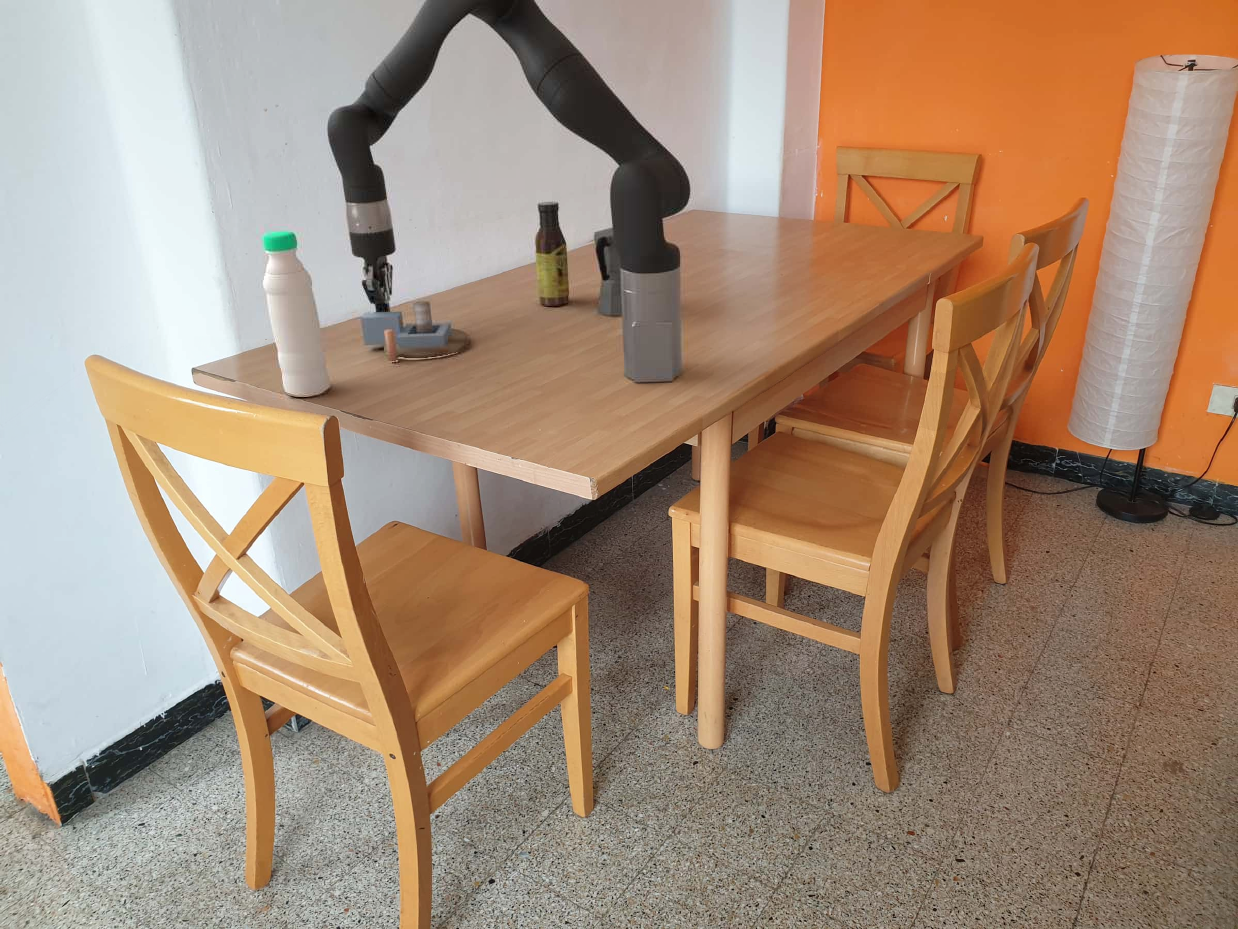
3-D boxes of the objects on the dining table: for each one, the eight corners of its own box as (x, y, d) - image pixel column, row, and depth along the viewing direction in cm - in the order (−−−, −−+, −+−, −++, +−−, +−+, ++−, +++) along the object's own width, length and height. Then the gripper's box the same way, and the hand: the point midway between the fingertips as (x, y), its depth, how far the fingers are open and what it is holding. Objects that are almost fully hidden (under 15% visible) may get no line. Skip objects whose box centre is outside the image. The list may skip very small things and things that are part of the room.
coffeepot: (612, 299, 194) (608, 209, 187) (655, 303, 191) (653, 211, 183) (579, 320, 182) (573, 225, 174) (624, 325, 178) (620, 227, 170)
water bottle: (314, 380, 157) (285, 226, 146) (340, 389, 153) (312, 231, 142) (276, 393, 152) (243, 235, 141) (301, 402, 148) (270, 240, 137)
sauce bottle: (565, 307, 190) (558, 206, 182) (535, 307, 192) (527, 206, 183) (573, 298, 196) (567, 199, 188) (544, 298, 197) (536, 200, 189)
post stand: (462, 358, 164) (457, 313, 160) (375, 361, 164) (368, 316, 161) (475, 332, 177) (470, 290, 174) (394, 335, 178) (388, 293, 174)
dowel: (397, 362, 163) (392, 331, 161) (387, 363, 163) (383, 332, 161) (399, 359, 165) (394, 329, 162) (390, 360, 165) (385, 329, 162)
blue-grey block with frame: (451, 332, 174) (448, 305, 172) (444, 346, 167) (440, 318, 164) (372, 335, 174) (368, 309, 172) (361, 349, 167) (357, 321, 165)
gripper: (382, 233, 160) (397, 333, 167) (400, 218, 172) (413, 312, 179) (338, 235, 160) (354, 334, 168) (359, 220, 172) (373, 313, 180)
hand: (384, 323), depth 174 cm, fingers closed
